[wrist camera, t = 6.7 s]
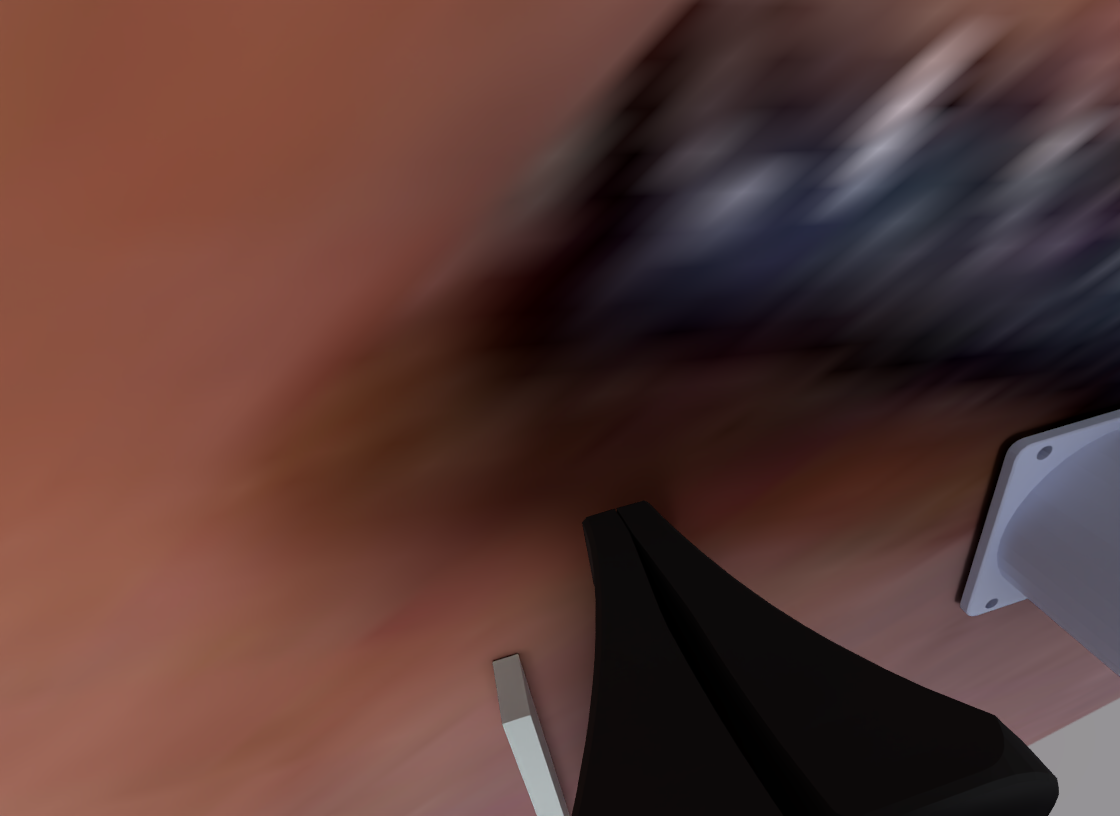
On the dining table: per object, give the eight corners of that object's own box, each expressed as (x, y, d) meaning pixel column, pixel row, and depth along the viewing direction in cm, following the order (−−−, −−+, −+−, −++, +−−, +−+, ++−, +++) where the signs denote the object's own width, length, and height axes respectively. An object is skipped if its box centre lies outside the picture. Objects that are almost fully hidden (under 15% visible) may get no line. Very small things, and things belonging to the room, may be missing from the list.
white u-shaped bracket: (725, 589, 19) (758, 641, 17) (728, 787, 26) (751, 839, 24) (492, 661, 18) (502, 724, 16) (559, 847, 25) (571, 905, 23)
